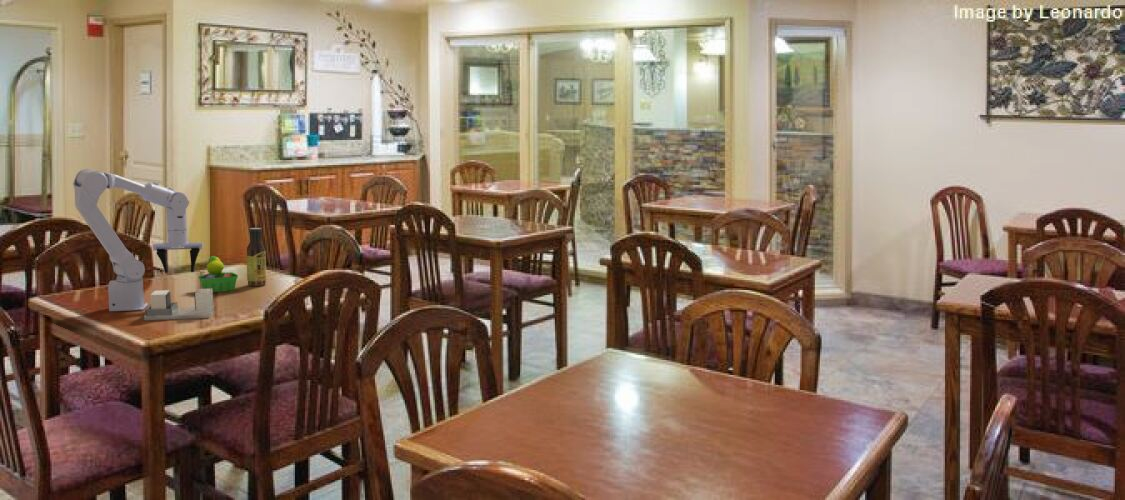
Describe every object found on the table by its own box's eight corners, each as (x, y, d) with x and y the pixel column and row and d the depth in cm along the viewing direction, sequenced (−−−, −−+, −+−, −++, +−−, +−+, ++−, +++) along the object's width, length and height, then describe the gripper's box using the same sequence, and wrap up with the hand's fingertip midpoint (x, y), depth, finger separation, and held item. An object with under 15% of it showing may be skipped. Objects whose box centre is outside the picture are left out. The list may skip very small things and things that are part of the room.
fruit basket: (204, 294, 300) (202, 260, 298) (197, 289, 307) (195, 256, 306) (239, 290, 307) (237, 257, 305) (231, 286, 314) (230, 253, 312)
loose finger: (151, 314, 266) (150, 294, 265) (156, 310, 272) (155, 290, 271) (167, 314, 267) (166, 294, 266) (171, 309, 273) (170, 290, 272)
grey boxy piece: (144, 320, 264) (142, 296, 263) (151, 312, 274) (149, 289, 273) (209, 317, 268) (208, 294, 267) (214, 310, 278) (213, 287, 277)
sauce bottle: (260, 287, 312) (258, 230, 309) (243, 286, 313) (241, 229, 310) (270, 283, 318) (268, 227, 315) (253, 282, 319) (251, 226, 316)
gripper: (150, 231, 280) (152, 275, 283) (200, 230, 284) (202, 273, 286) (154, 228, 287) (156, 271, 289) (203, 227, 291) (205, 269, 293)
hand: (179, 272), depth 288 cm, fingers open, 7 cm apart
